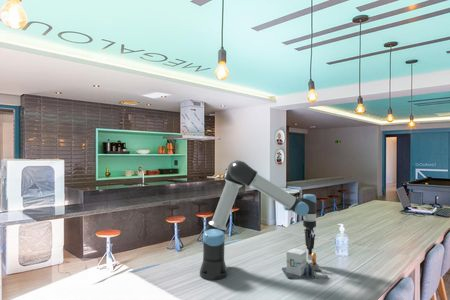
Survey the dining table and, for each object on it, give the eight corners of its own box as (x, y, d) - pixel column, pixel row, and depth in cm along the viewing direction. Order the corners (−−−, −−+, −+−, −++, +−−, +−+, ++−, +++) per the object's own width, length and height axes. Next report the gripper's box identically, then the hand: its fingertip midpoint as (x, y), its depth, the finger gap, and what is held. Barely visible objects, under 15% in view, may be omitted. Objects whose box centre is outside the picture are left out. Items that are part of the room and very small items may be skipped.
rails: (315, 278, 164) (315, 275, 164) (305, 267, 180) (306, 265, 180) (328, 278, 165) (328, 275, 165) (318, 267, 181) (318, 265, 181)
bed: (287, 278, 164) (287, 269, 164) (281, 269, 177) (281, 260, 177) (313, 278, 165) (313, 269, 165) (306, 269, 178) (306, 260, 178)
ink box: (292, 267, 177) (292, 247, 177) (306, 271, 171) (306, 250, 172) (286, 272, 170) (286, 251, 170) (300, 276, 165) (300, 254, 165)
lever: (311, 270, 175) (311, 254, 175) (309, 267, 179) (309, 252, 179) (318, 270, 176) (318, 254, 176) (315, 267, 180) (316, 252, 180)
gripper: (300, 217, 192) (300, 255, 192) (306, 222, 179) (306, 263, 179) (312, 217, 193) (312, 255, 192) (319, 222, 180) (319, 263, 179)
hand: (309, 259), depth 186 cm, fingers closed
